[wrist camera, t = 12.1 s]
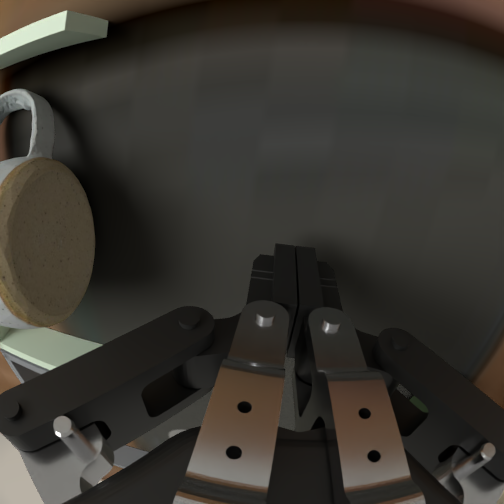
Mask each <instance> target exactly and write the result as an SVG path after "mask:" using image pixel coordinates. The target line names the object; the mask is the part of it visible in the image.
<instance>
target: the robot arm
mask: <svg viewBox="0 0 504 504" xmlns="http://www.w3.org/2000/svg"><path fill="white" fill-rule="evenodd" d="M286 350H287V357H289V358H295V366H294V369H293V373H292V387H293V399H294V411H295V430H294V431H292V430H288V429H285V428H282V427H278V423H279V416H280V409H281V402H282V394H283V386H284V379H285V369H284V361H285V354H286ZM399 384H401V385H402V386H404V387H405V388H406V389H407V390H408V391H409V392H411V393H412V394H413V395H414V396H415V397H416V398H417V399H419V400H420V401H421V402H422V403H423V404H424V405H425V406H426V407H427V409H428V412H423V411H421V410H420V409H419V408H417V407H416V406H415V405H414V404H413V403H412V402H411V401H409V400H408V399H407V398H406V397H405V396H404V395H403V394H401V393H400V392H399V391H398V390H397V389H396V388H397V386H398V385H399ZM213 387H214V388H213ZM212 388H213V392H212V395H211V398H210V401H209V404H208V407H207V410H206V413H205V416H204V419H203V422H202V426H199V427H195V428H192V429H188V430H186V431H183V432H180V433H179V434H177V435H175V436H173V437H171V438H170V439H168V440H166V441H165V442H164V443H162V444H161V445H159V446H158V447H156V448H155V449H153V450H152V451H150V452H149V453H147V454H146V455H144V456H143V457H141V458H140V459H138V460H137V461H135V462H133V463H132V464H130V465H129V466H127V467H125V468H124V469H122V470H121V471H119V472H117V473H116V474H114V475H112V476H111V477H109V478H107V479H106V480H104V481H102V482H101V483H99V484H98V482H99V480H100V479H101V478H102V477H104V476H105V475H106V474H107V473H109V471H110V470H111V469H112V467H113V464H114V451H115V450H117V449H119V448H121V447H122V446H124V445H126V444H128V443H129V442H131V441H133V440H135V439H136V438H138V437H140V436H141V435H143V434H145V433H146V432H148V431H150V430H151V429H153V428H155V427H156V426H158V425H160V424H161V423H163V422H164V421H166V420H168V419H169V418H171V417H172V416H174V415H175V414H177V413H179V412H180V411H182V410H183V409H185V408H186V407H188V406H189V405H191V404H192V403H194V402H195V401H197V400H198V399H200V398H201V397H203V396H204V395H206V394H207V393H208V392H210V391H211V389H212ZM0 432H1V433H2V434H3V435H4V436H5V437H6V438H7V439H8V440H9V441H10V442H11V443H12V445H13V446H14V447H15V448H17V450H18V451H19V452H20V454H21V456H22V459H23V461H24V463H25V466H26V468H27V470H28V472H29V474H30V476H31V479H32V480H33V483H34V484H35V486H36V488H37V490H38V492H39V494H40V496H41V498H42V500H43V502H44V504H496V503H497V501H498V500H499V498H500V496H501V494H502V492H503V490H504V410H503V409H502V408H501V407H500V406H499V405H497V404H496V403H495V402H494V401H493V400H492V399H490V398H489V397H488V396H487V395H486V394H484V393H483V392H482V391H481V390H480V389H478V388H477V387H476V386H475V385H473V384H472V383H471V382H470V381H469V380H467V379H466V378H465V377H464V376H462V375H461V374H460V373H459V372H457V371H456V370H455V369H454V368H453V367H451V366H450V365H449V364H448V363H446V362H445V361H444V360H443V359H441V358H440V357H439V356H438V355H436V354H435V353H434V352H433V351H431V350H430V349H429V348H427V347H426V346H425V345H424V344H422V343H421V342H420V341H419V340H417V339H416V338H415V337H413V336H412V335H411V334H409V333H408V332H406V331H404V330H402V329H398V328H388V329H385V330H383V331H382V332H381V333H380V335H379V337H376V336H373V335H369V334H366V333H363V332H361V331H359V330H357V329H355V327H354V324H353V322H352V320H351V318H350V317H349V316H348V315H347V314H345V313H344V312H343V311H342V306H341V302H340V297H339V293H338V288H337V284H336V281H335V275H334V271H333V269H332V268H331V267H330V266H329V265H328V264H327V263H326V262H319V261H317V259H316V253H315V249H314V248H309V247H301V246H292V245H284V244H275V250H274V256H269V255H261V254H260V255H259V256H258V257H257V258H256V259H255V260H254V262H253V268H252V274H251V280H250V286H249V292H248V298H247V304H246V306H245V307H244V308H243V310H242V312H241V313H239V314H238V315H236V316H233V317H230V318H225V319H215V320H214V319H213V317H212V315H211V314H210V313H209V312H208V311H206V310H204V309H202V308H199V307H194V306H185V307H180V308H177V309H175V310H173V311H171V312H169V313H167V314H165V315H163V316H161V317H159V318H157V319H155V320H153V321H151V322H149V323H147V324H145V325H143V326H141V327H139V328H137V329H135V330H133V331H131V332H128V333H126V334H124V335H122V336H120V337H118V338H116V339H114V340H112V341H110V342H108V343H106V344H104V345H102V346H100V347H98V348H96V349H94V350H92V351H89V352H87V353H85V354H83V355H81V356H79V357H77V358H75V359H73V360H71V361H69V362H67V363H64V364H62V365H60V366H58V367H56V368H54V369H52V370H50V371H48V372H45V373H43V374H41V375H39V376H37V377H35V378H33V379H31V380H28V381H26V382H24V383H22V384H20V385H18V386H16V387H13V388H11V389H9V390H7V391H5V392H3V393H2V394H1V395H0Z"/></svg>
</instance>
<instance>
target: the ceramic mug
mask: <svg viewBox="0 0 504 504" xmlns="http://www.w3.org/2000/svg"><path fill="white" fill-rule="evenodd" d="M23 108H24V109H26V110H32V116H33V120H32V136H31V140H30V151H29V154H28V155H27V156H26V157H17V158H12V159H9V160H5V161H1V162H0V325H1V326H5V327H10V328H17V329H35V328H43V327H50V326H53V325H55V324H58V323H60V322H62V321H64V320H65V319H66V318H67V317H69V316H70V315H71V314H72V313H73V311H74V310H75V309H76V308H77V306H78V305H79V304H80V302H81V300H82V298H83V296H84V295H85V292H86V290H87V288H88V285H89V281H90V278H91V274H92V269H93V262H94V256H95V232H94V223H93V216H92V211H91V208H90V205H89V202H88V199H87V196H86V193H85V191H84V189H83V188H82V186H81V184H80V182H79V180H78V179H77V178H76V176H75V175H74V174H73V172H72V171H71V170H70V169H69V168H67V167H66V166H65V165H64V164H62V163H61V162H59V161H57V160H53V159H52V154H53V148H54V141H55V128H54V118H53V117H54V115H53V111H52V108H51V106H50V104H49V103H48V102H47V101H46V100H45V99H44V98H43V97H41V96H39V95H37V94H35V93H33V92H30V91H28V90H26V89H14V90H11V91H8V92H6V93H4V94H2V95H1V96H0V125H1V123H2V122H3V120H4V118H5V117H6V116H7V115H9V114H10V113H11V112H12V111H16V110H20V109H23Z"/></svg>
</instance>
